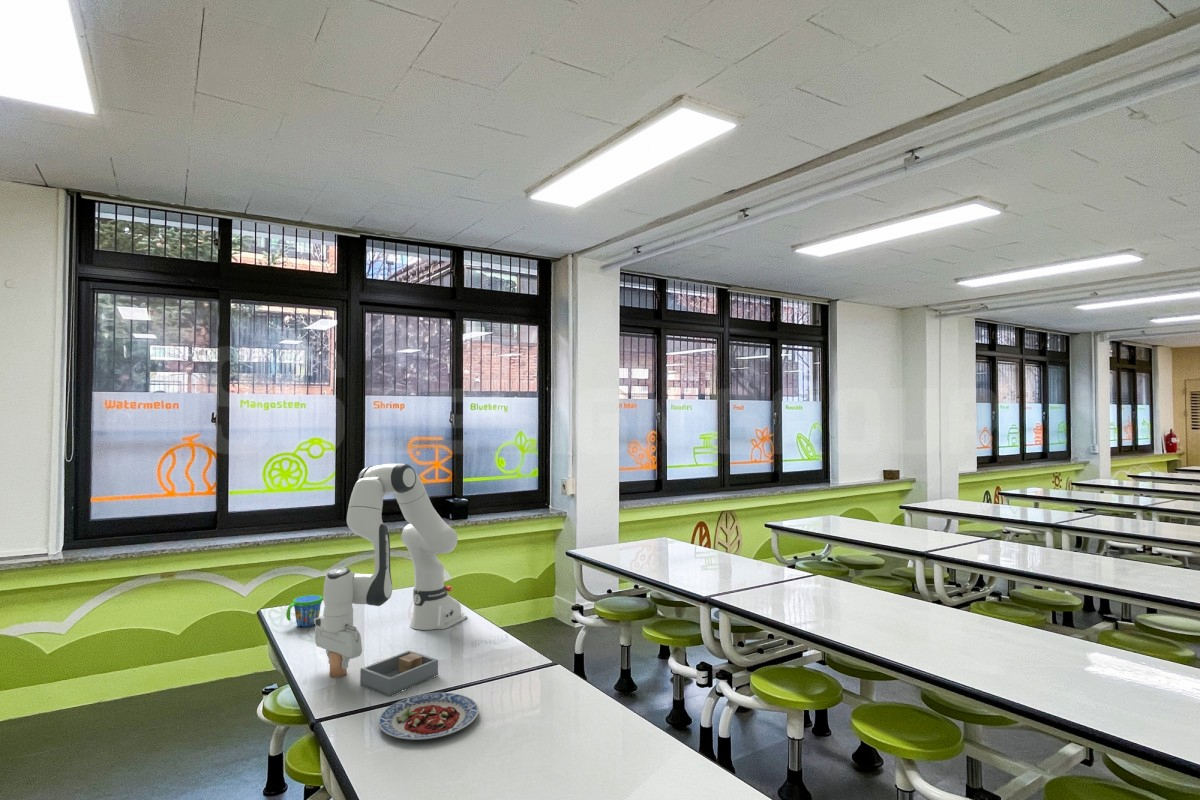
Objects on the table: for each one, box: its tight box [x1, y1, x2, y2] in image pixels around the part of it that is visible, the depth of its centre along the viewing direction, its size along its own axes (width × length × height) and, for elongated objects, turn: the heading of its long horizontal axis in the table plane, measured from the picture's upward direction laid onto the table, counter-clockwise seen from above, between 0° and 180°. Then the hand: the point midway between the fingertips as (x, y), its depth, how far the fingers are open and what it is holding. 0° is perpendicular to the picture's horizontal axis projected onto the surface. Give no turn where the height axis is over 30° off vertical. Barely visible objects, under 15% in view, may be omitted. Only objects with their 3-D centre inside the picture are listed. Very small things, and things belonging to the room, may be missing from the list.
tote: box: [359, 650, 439, 698], centre depth 197 cm, size 18×14×5 cm
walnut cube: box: [399, 653, 422, 674], centre depth 201 cm, size 5×5×5 cm
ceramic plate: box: [378, 692, 480, 740], centre depth 171 cm, size 26×26×3 cm
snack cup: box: [285, 594, 325, 628], centre depth 250 cm, size 16×10×10 cm
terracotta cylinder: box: [329, 651, 348, 679], centre depth 202 cm, size 5×5×7 cm
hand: (338, 665), depth 202 cm, fingers closed on terracotta cylinder, 5 cm apart
